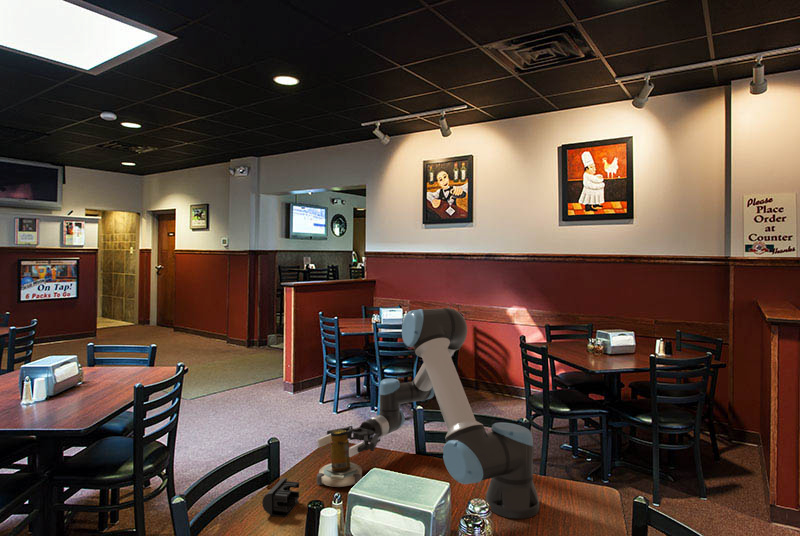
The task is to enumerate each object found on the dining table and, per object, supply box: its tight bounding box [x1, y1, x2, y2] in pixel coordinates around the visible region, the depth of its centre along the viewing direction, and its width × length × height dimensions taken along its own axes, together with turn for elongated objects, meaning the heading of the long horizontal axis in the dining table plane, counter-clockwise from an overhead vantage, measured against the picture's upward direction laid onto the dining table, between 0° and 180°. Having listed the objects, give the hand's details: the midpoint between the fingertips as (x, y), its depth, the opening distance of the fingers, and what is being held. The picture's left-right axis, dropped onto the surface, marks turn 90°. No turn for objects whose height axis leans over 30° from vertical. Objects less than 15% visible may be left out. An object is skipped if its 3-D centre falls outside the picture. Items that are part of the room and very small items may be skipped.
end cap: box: [261, 477, 300, 518], centre depth 135 cm, size 10×7×7 cm
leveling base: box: [316, 461, 363, 488], centre depth 154 cm, size 14×15×4 cm
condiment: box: [326, 430, 359, 475], centre depth 154 cm, size 7×8×12 cm
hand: (333, 448), depth 151 cm, fingers open, 13 cm apart
